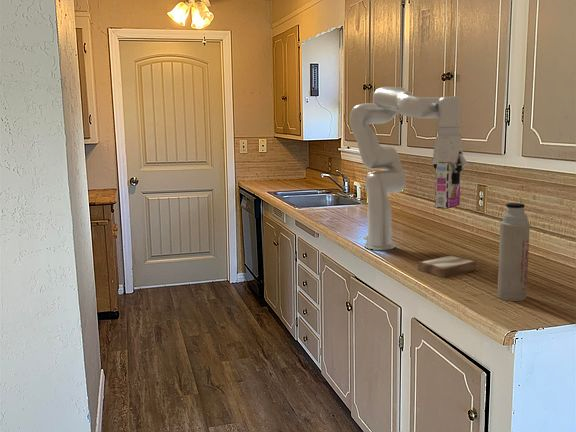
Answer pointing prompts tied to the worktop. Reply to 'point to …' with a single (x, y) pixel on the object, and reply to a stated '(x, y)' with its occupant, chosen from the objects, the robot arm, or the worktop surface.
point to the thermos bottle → (513, 253)
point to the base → (447, 266)
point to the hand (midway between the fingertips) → (448, 182)
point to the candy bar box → (446, 187)
